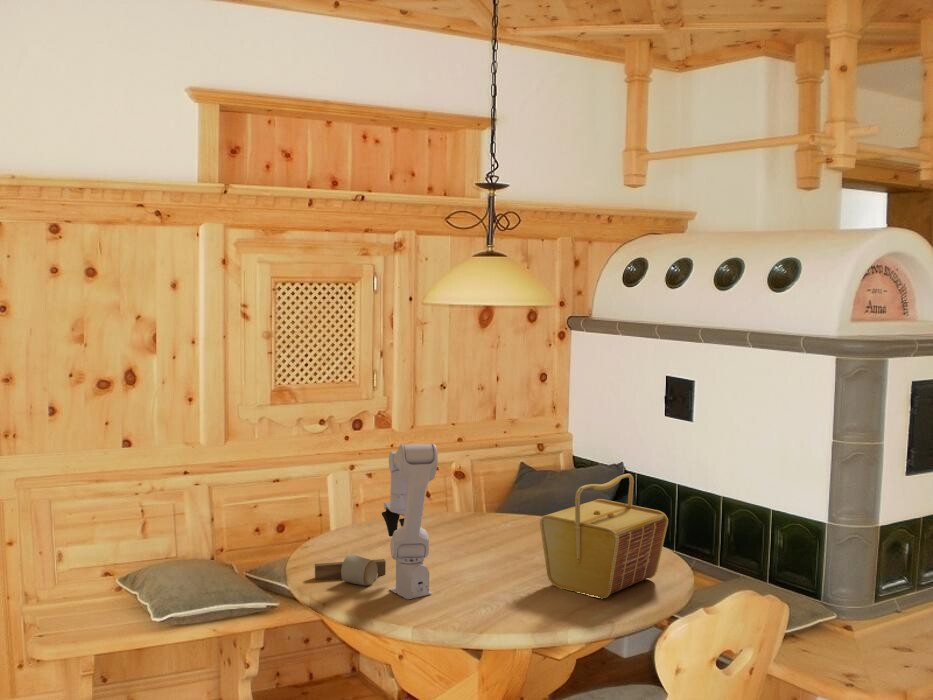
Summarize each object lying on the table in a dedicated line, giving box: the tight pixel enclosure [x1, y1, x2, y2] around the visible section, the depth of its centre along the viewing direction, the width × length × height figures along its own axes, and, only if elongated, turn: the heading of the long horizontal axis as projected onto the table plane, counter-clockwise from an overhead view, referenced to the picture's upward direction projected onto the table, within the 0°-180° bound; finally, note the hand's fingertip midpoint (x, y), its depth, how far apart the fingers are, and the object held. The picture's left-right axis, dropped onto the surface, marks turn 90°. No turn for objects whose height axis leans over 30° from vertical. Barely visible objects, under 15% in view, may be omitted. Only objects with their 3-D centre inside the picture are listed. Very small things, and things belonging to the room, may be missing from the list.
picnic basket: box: [539, 473, 669, 599], centre depth 284 cm, size 29×26×30 cm
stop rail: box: [314, 558, 387, 581], centre depth 286 cm, size 2×20×4 cm, turn 107°
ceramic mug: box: [341, 553, 379, 587], centre depth 281 cm, size 11×8×8 cm
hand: (399, 539), depth 288 cm, fingers open, 7 cm apart
